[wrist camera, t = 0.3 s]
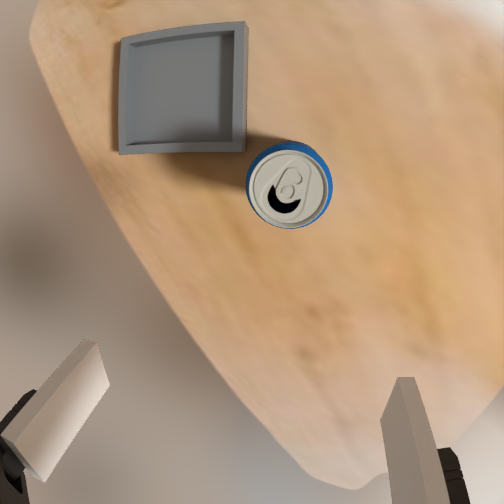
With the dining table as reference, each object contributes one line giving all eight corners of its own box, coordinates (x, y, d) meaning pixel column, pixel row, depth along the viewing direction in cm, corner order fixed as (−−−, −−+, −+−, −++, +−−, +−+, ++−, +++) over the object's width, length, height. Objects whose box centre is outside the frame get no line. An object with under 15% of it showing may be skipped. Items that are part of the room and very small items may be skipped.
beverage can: (252, 183, 35) (227, 208, 24) (279, 130, 32) (267, 127, 21) (305, 211, 35) (307, 248, 24) (333, 159, 32) (350, 171, 21)
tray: (131, 42, 30) (121, 37, 28) (248, 28, 29) (244, 21, 26) (129, 153, 35) (118, 155, 33) (246, 150, 33) (242, 152, 31)
